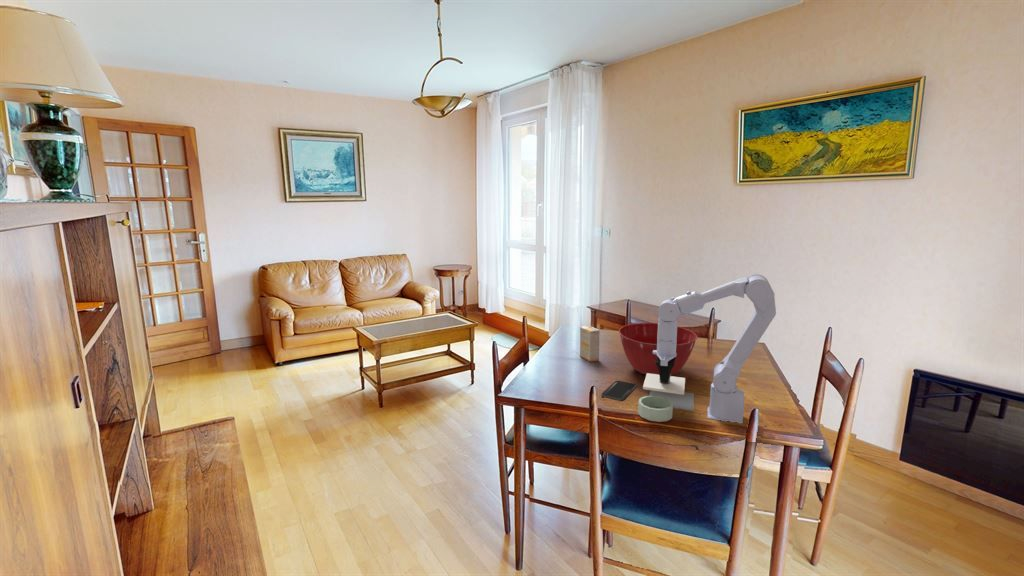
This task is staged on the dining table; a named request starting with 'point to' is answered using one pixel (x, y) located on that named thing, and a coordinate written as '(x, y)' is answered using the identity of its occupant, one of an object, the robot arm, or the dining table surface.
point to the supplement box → (589, 343)
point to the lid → (664, 384)
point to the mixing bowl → (653, 346)
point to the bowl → (655, 408)
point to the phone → (619, 390)
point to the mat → (677, 399)
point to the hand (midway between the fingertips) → (664, 380)
